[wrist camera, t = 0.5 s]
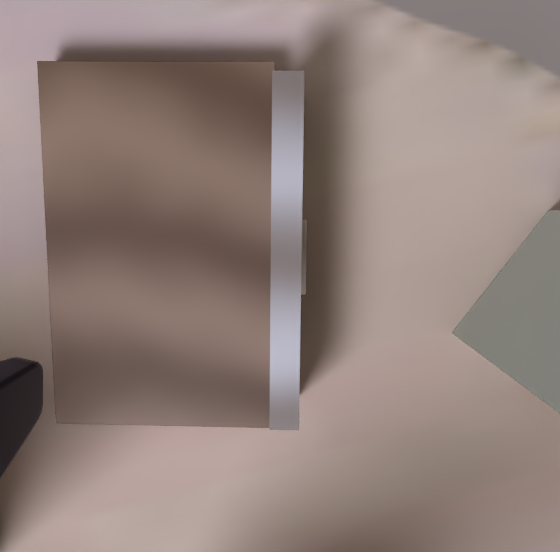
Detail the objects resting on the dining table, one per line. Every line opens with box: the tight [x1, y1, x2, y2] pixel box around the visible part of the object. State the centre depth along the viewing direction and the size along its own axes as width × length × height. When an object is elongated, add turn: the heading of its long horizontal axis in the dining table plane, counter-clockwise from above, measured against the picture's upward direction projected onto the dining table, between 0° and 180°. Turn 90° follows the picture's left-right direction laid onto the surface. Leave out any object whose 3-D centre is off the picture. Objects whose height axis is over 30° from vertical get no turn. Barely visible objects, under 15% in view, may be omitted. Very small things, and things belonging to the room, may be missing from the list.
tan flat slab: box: [37, 61, 307, 430], centre depth 21 cm, size 16×11×4 cm
